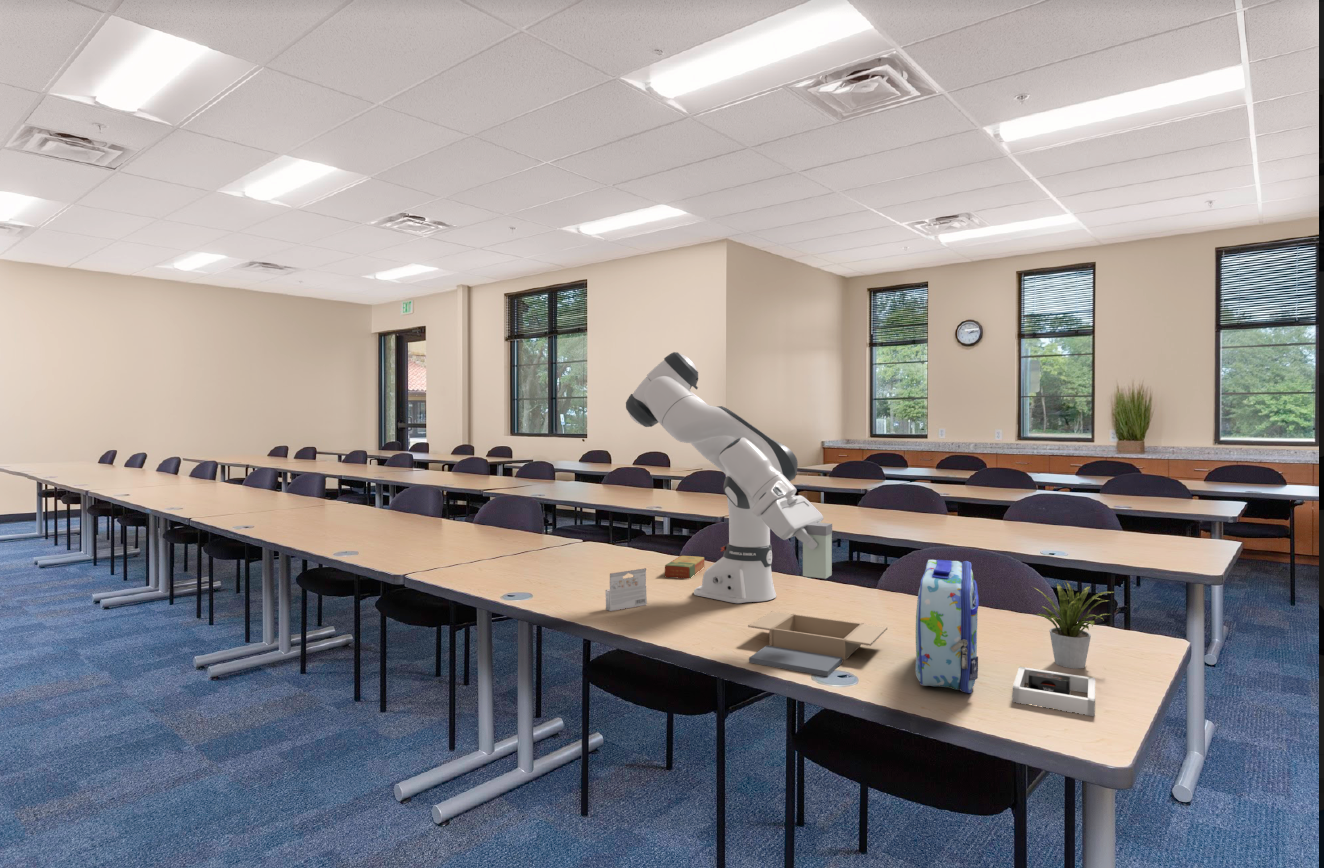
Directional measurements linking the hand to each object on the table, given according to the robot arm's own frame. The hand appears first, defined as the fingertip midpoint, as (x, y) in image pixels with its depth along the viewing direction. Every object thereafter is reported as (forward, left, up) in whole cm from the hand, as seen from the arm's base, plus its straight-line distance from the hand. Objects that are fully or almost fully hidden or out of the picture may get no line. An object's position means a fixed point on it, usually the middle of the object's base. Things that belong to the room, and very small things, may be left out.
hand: (820, 545), depth 155 cm
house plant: (+47, +12, -22) cm, 53 cm away
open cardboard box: (-1, 0, -21) cm, 21 cm away
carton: (-61, +50, -22) cm, 82 cm away
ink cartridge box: (-54, +6, -22) cm, 58 cm away
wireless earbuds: (+43, -7, -22) cm, 48 cm away
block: (-1, 0, -6) cm, 6 cm away
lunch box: (+26, -5, -22) cm, 34 cm away
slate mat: (-1, -13, -21) cm, 25 cm away
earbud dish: (+44, -8, -21) cm, 50 cm away
